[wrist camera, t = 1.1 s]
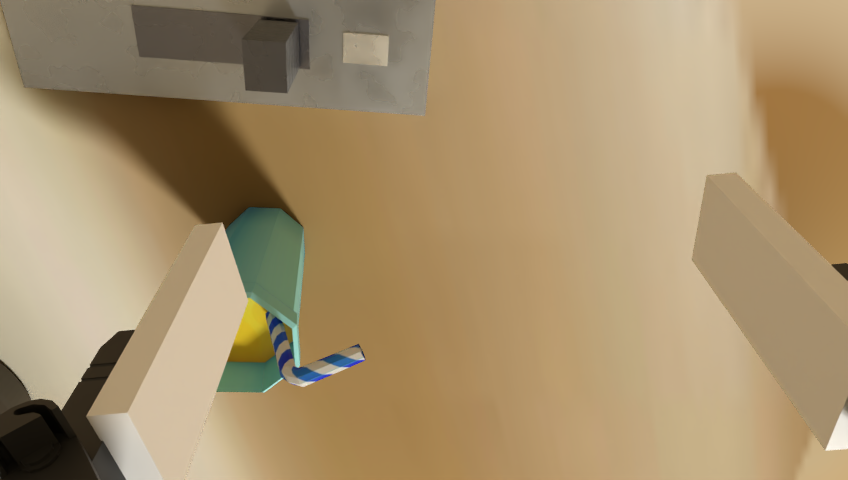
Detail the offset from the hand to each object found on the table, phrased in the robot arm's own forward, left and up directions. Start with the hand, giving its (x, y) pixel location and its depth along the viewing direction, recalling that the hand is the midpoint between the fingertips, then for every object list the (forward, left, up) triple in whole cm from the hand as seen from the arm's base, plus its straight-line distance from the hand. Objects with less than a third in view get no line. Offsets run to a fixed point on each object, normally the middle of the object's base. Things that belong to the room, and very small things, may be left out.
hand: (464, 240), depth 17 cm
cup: (-9, -14, -21) cm, 27 cm away
